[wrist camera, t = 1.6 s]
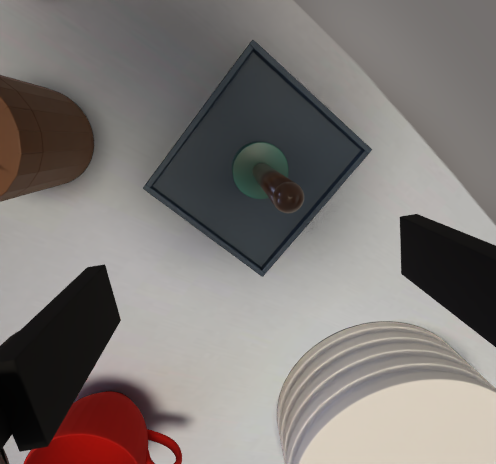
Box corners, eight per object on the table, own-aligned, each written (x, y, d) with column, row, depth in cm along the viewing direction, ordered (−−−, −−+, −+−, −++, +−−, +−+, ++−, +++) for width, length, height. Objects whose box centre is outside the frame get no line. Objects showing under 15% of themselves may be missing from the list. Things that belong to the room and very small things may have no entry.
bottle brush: (253, 130, 38) (285, 121, 18) (292, 164, 39) (364, 191, 19) (221, 172, 39) (216, 208, 19) (260, 203, 40) (296, 269, 20)
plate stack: (345, 288, 44) (385, 337, 33) (505, 370, 49) (585, 437, 38) (241, 445, 50) (246, 532, 39) (394, 504, 55) (436, 596, 44)
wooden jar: (27, 66, 35) (-96, 21, 22) (112, 131, 37) (48, 127, 24) (-22, 145, 37) (-164, 149, 24) (62, 203, 39) (-24, 237, 26)
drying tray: (251, 43, 36) (252, 39, 34) (366, 149, 40) (372, 149, 38) (146, 186, 39) (142, 188, 38) (261, 271, 43) (262, 277, 41)
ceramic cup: (184, 451, 50) (174, 527, 40) (63, 446, 48) (22, 524, 38) (191, 375, 46) (182, 437, 37) (61, 367, 45) (16, 430, 35)
